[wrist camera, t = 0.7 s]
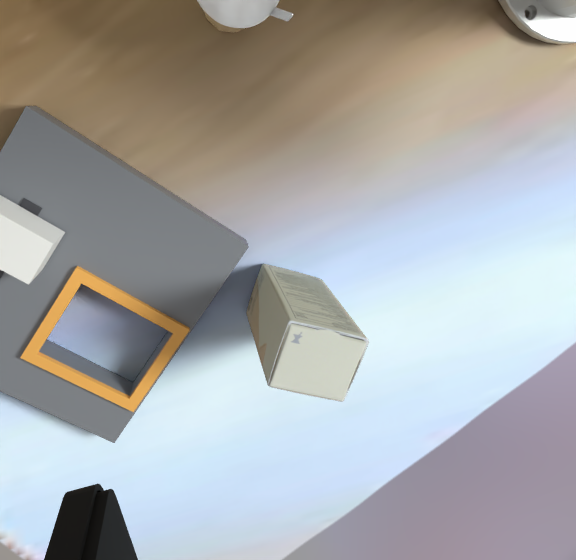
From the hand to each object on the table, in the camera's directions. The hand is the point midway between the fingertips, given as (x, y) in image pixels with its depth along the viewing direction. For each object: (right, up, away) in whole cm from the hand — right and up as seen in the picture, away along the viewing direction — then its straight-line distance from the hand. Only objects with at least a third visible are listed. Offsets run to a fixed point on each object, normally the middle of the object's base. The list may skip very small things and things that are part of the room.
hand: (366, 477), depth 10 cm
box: (-2, +3, +30) cm, 30 cm away
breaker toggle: (-19, +7, +23) cm, 31 cm away
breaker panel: (-16, +4, +27) cm, 32 cm away
